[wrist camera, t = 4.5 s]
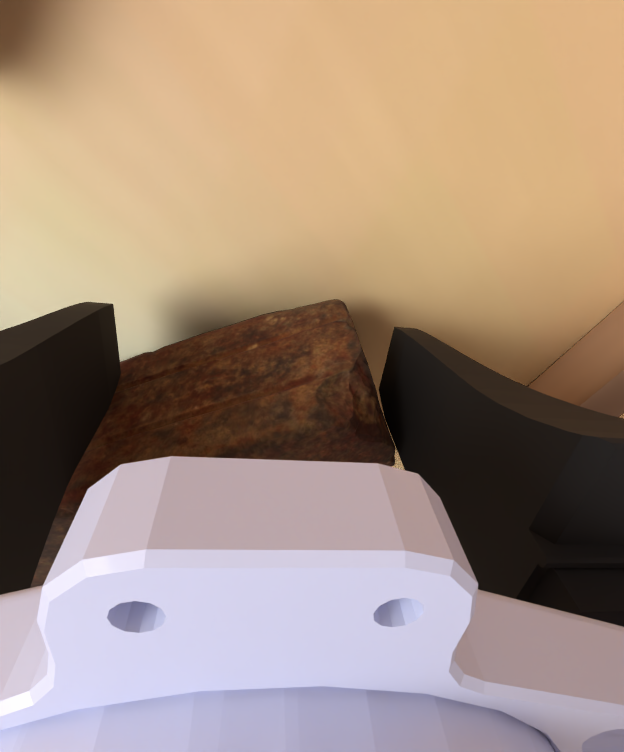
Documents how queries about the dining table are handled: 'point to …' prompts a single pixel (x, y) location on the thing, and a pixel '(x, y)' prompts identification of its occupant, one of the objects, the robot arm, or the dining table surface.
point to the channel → (591, 369)
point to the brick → (239, 403)
